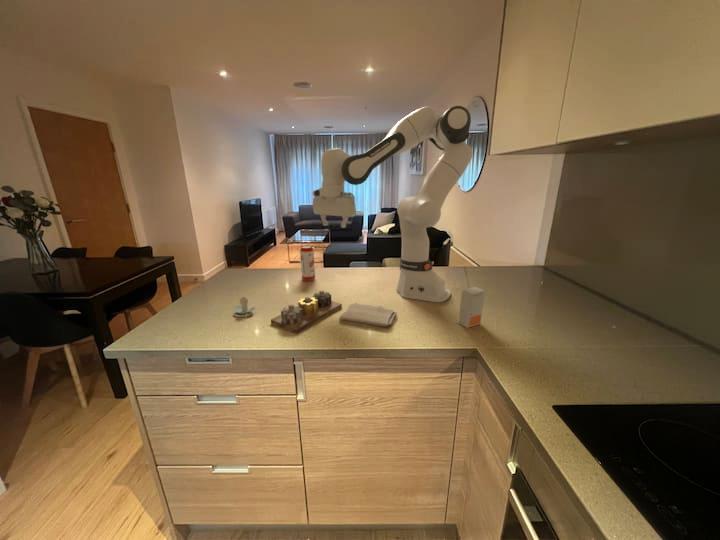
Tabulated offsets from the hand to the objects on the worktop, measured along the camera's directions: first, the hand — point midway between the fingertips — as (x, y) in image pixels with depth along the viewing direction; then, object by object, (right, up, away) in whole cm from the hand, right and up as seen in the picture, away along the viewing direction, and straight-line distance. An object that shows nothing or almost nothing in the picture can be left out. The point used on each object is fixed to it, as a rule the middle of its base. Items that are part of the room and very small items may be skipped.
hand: (334, 226), depth 120 cm
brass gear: (-8, -33, -18) cm, 38 cm away
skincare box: (+47, -36, -25) cm, 64 cm away
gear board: (-8, -34, -18) cm, 39 cm away
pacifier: (-31, -34, -16) cm, 49 cm away
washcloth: (+14, -36, -20) cm, 43 cm away
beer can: (-14, -23, +19) cm, 33 cm away
